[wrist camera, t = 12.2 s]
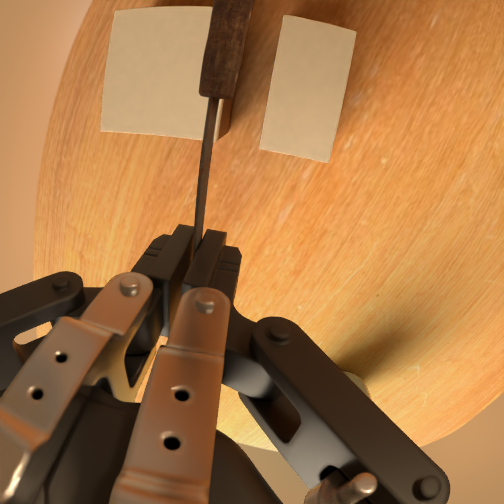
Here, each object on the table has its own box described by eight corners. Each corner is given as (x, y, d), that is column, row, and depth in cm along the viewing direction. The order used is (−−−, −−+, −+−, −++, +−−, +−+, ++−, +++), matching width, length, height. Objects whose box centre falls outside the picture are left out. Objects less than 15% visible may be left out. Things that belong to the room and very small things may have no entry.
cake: (130, 122, 20) (99, 131, 16) (144, 21, 16) (115, 10, 12) (228, 132, 20) (215, 142, 16) (246, 24, 16) (238, 8, 12)
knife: (210, 296, 13) (201, 329, 11) (185, 291, 13) (172, 322, 11) (280, -98, 5) (280, -126, 3) (249, -101, 5) (244, -128, 3)
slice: (262, 137, 20) (258, 149, 16) (282, 30, 16) (283, 14, 12) (318, 149, 20) (328, 163, 16) (341, 43, 16) (357, 31, 12)
